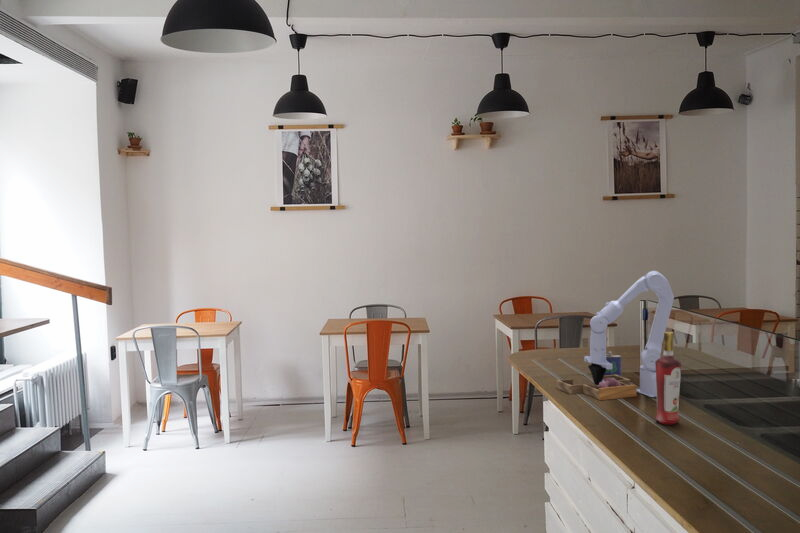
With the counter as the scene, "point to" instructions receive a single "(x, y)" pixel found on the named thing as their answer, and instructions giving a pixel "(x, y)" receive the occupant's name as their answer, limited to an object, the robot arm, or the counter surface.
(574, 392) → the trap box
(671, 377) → the liquor
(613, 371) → the flask
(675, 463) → the counter surface
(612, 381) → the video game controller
